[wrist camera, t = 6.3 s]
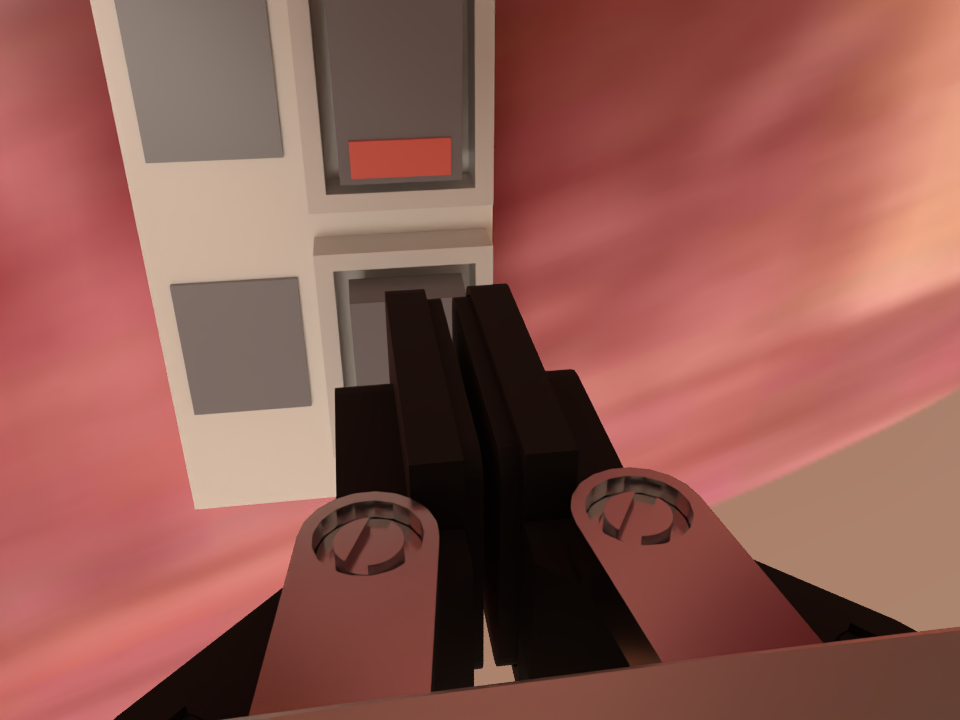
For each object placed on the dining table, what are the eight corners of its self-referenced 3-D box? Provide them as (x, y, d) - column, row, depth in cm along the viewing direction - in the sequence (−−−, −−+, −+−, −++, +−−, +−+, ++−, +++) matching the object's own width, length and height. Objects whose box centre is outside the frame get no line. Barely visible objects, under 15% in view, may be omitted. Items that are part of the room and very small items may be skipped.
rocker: (348, 279, 24) (349, 305, 23) (461, 272, 25) (466, 298, 24) (359, 410, 28) (361, 438, 27) (459, 402, 28) (464, 430, 27)
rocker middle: (322, -32, 21) (323, -19, 20) (456, -33, 21) (463, -22, 20) (339, 167, 24) (340, 186, 23) (456, 162, 24) (462, 181, 23)
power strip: (-7, -656, 18) (-98, -798, 14) (476, -622, 19) (511, -744, 15) (206, 457, 32) (189, 537, 28) (478, 434, 33) (497, 508, 29)
